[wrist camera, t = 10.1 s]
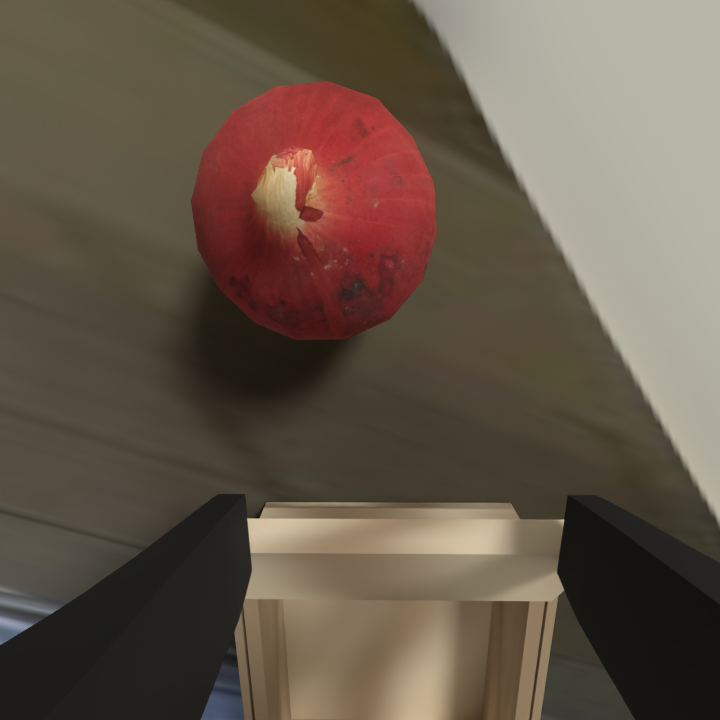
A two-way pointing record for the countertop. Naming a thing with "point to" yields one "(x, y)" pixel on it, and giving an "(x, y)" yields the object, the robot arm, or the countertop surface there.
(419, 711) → the carton
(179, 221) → the countertop surface
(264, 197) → the red rounded oval piece
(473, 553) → the flap
